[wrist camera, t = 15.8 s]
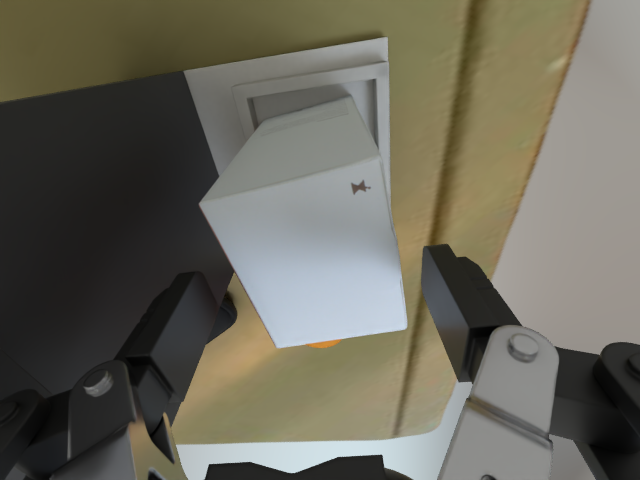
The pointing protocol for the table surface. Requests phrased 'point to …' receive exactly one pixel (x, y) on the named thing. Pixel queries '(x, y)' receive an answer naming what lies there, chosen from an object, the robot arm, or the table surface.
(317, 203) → the small box
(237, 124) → the coffee dock
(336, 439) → the table surface
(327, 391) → the table surface
